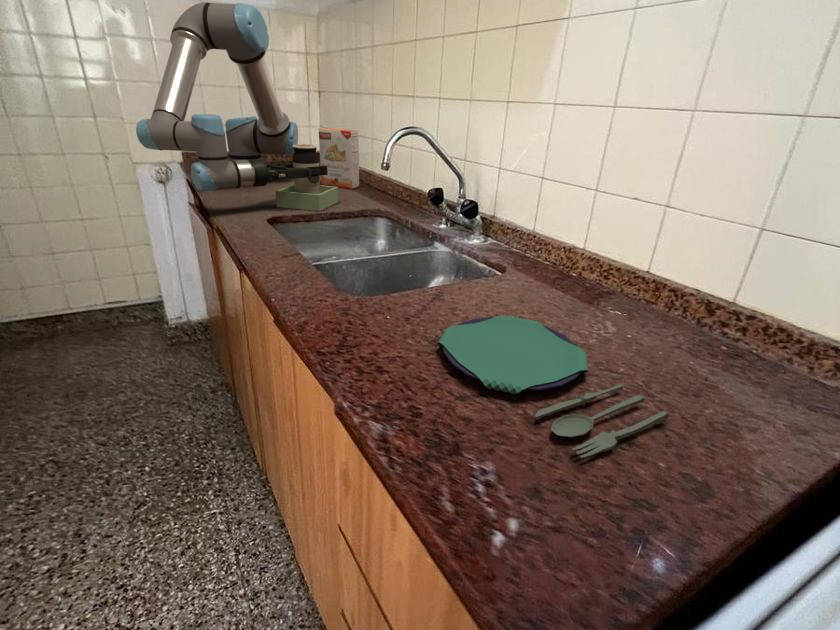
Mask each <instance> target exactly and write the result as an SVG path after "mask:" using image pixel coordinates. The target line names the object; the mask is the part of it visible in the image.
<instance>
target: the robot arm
mask: <svg viewBox="0 0 840 630" xmlns="http://www.w3.org/2000/svg"><path fill="white" fill-rule="evenodd" d="M268 31H269V30H268V26H267V24H266V20H265V18H264V16H263V14H262V13H261V11H260V10H259V9H258V8H257V7H256V6H254V5H252V4H244V3H242V2H237V3H226V2H225V3H221V2H209V1H208V2H207V1H206V2H205V1H204V2H198V3H195V4H193V5H191V6H189V7H188V8H187V9H186V10H185V11H183V13H182V14H181V15H180V16H179V18H177V20H176V21H175V23H174V25H173V26H172V29H171V33H170V36H169V41H170V44H171V49H170V52H169V56H168V59H167V62H166V66H165V69H164V73H163V76H162V79H161V83H160V86H159V89H158V90H159V91H158V93H157V96H156V100H155V103H154V107H153V111H152V113H151V116H150V118H146V119H145V118H143V119H141V120H139V121H138V122H137V124H136V126H135V133H136V136H137V139H138V141H139V143H140V144H141V145H142V146H143V148H145V149H148V150H155V151H173V152H175V151H178V152H194V153H196V155H197V160H198V161H197V162H193V163H192V164H191V166H190V174H191V175H190V176H191V180H192V183H193V185H194V187H195V188H196V189H197V190H199V191H201V192H206V191H207V192H208V191H212V192H213V191H214V192H217V191H223V190H232V189H240V190H242V191H244V190H245V188H252V187H254V188H256V187H257V188H258V187H265V186H266V185H268V182H269V179H271V180H273V181H275V180H280V181H282V180H294V179H296V178H308V179H310V178H311V176H320V177H321V175H328V172H327V166H320V165H319V166H314V167H307V168H293V160H289V162H287V161H285V160H284V159H280V160H278V161H276V162H273V163H267V164H266V163H265V162H264V160H262V154H264V155H265V154H266V155H281V156H287V155H290V156H291V155H292V156H293V154H294V148H293V147H292V146H293V145H299V127H298V125H297V122H294V121H290V118H289V116H288V115H287V114H286V113H285V112H283V111H282V108H281V104H280V102H279V98H278V95H277V92H276V90H275V88H274V83H273V81H272V78H271V75H270V72H269V69H268V65H267V63H266V59H265V56H266V54H267V50H268V48H269V45H270V36H269V32H268ZM211 50H223V51H226V53H227V55H228V58H229V59H230V61H231V62H232V63H234V64H236V65H237V67H238V70H239V72H240V75H241V77H242V80H243V82H244V85H245V87H246V90H247V92H248V95H249V98H250V101H251V103H252V105H253V107H254V110H255V112H256V115H257V116H256V115H255V116H245V117H234V118H228V119H226V120H225V121H224V123H223V118H222V117H221V116H220V115H218V114H211V113H194V114H191V116H190V117H191V118H190V119H191V120H186V115H187V112H188V109H189V105H190V101H191V97H192V93H193V90H194V86H195V82H196V78H197V74H198V72H199V67H200V64H201V61H202V60H203V59H205V58H206V56H207V53H208V52H209V51H211ZM224 126H225V128H224ZM227 148H228V149H227ZM228 155H229V156H228ZM284 161H285V162H284Z"/></svg>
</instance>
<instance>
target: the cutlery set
mask: <svg viewBox="0 0 840 630" xmlns="http://www.w3.org/2000/svg"><path fill="white" fill-rule="evenodd" d="M437 344H438V345H439V346H440V347H442V348H443V354H444V356H445V357H446V358H447V360H448V361H449V362H450V364H451V365H452V366H453V367H454V368H456V369H457V370H459V371H460V372H461V373H463V374H464V375H466V376H467V377H469V378H472V379H474V380H477V381H479V382H481V383H483V385H484V386H485V388H487V389H488V390H495V391H499V392H504V393H509V394H512V395H515V394H518V393H520V392H522V391H534V392H535V391H536V392H537V391H539V392H540V391H544V390H551V389H555V388H561V387H563V386H565V385H567V384H569V383H570V382H573V381H574V380H576V379H577V377H578V376H579V375H580V373H581V374H586V373H589V365H588V361H589V359H588V355H587V352H586V351H585V350H583V349H582V348H581V347H579V346H578V345H577V344H576V343H575V342H574V341H572V339H570V338H569V337H568V336H566V335H565V334H563V333H561V332H559V331H557V330H555V329H553V328H551V327H549V326H547V325H543V324H542V323H540V322H539V321H536V320H531V319H529V318H527V319H525V318H523V317H521V318H519V317H517V316H514V317H513V316H511V315H508V316H506V315H497V316H486V317H479V318H472V319H469V320H466V321H462V322H460V323H458V324H455V325H451V326H447V327H446V328H445V329H444V331H443V332H442V334H441V336H440V337H439V339H438V341H437ZM623 388H624V385H622V384H621V383H618V384H617V385H614V386H612V387H610V388H607V389H603V390H602V389H601V390H599V391H596V392H586V393H585V394H584V395H581V394H580V393H579V394H578V398H574V399H569V400H565V401H561V402H558V403H556V404H553V405H550V406H547V407H544V408H541V409H539V410H538V411H537V412H536V413H535V416H534V419H535V420H538V419H541V418H544V417H547V416H550V415H553V414H555V413H557V412H558V413H559V412H560V411H564V410H566V409H569V408H571V407H574V406H578V405H580V404H581V405H582V406H583V407H585V405H586V403H587V402H591V403H592V402H593V401H594V400H595V399H596V398H598V397H599V396H604V395H606V394H608V393H610V392H614V391H617V390H620V391H623ZM645 400H646V397H644V396H642V395H641V394H638V395H634V396H632V397H630V398H628V399H626V400H623V401H621V402H619V403H616V404H614V405H612V406H610V407H608V408H607V409H605V410H603V411H600V412H598V413H596V414H595V415H593V416H588V415H585V414H577V413H572V414H567V415H562V416H560V417H559V418H557V419H556V420H554V421H553V422H552V424H551V427H550V431H552V432H553V433H554V434H555V435H556V436H559V437H565V438H566V437H567V438H577V437H582V436H585V435H587V434H588V433H589V432H590V431H591V430H592V429H593V428H594V422H595V421H597V420H599V419H602V418H604V417H606V416H609V415H611V414H613V413H616V412H619V411H621V410H624V409H627V408H629V407H632V406H635V405H639V404H641V403H644V402H645ZM669 416H670V413H669V412H667V411H666V410H662V411H660V412H658V413H656V414H654V415H651V416H649V417H648V418H646V419H644V420H641V421H640V422H638V423H635V424H633V425H631V426H628V427H626V428H625V427H624V428H622V429H620V430H617V431H616V430H614V429H612V430H611V431H610V432H607V431H604V430H601V432H600V433H598V434H597V435H595V436H593V437H592V438H590V439H588V440H586V441H585V442H583V443H581V444H579V445H577V446H575V447H573V448H571V451H572V452H575V455H577V456H579V458H580V459H582V460H583V459H586V458H590V457H592V456H595V455H597V454H599V453H603V452H607V451H611V450H613V449H615V448H616V447H617V443H618V442H619V439H621V438H624V437H627V436H631V435H634V434H637V433H639V432H641V431H643V430H645V429H648V428H650V427H652V426H653V425H655V424H658V423H660V422H663V421H666V420H668V419H669ZM576 451H577V452H576Z"/></svg>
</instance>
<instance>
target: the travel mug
mask: <svg viewBox="0 0 840 630" xmlns="http://www.w3.org/2000/svg"><path fill="white" fill-rule="evenodd" d="M292 147H293V148H294V154H292V161H293V168H307V167H314V166H320V156H319V155H318V153H317V149H318V145H316V144H305V143H304V144H299V143H298V145H293V146H292ZM293 180H294V184H295V192H297V193H308V194H320V193H321V190H320V185H321V176H311V178H310V179H308V178H296V179H293Z"/></svg>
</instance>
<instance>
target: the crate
mask: <svg viewBox="0 0 840 630" xmlns="http://www.w3.org/2000/svg"><path fill="white" fill-rule="evenodd" d="M320 190H321V193H320V194H308V193H297V192H295V183H294V184H292V185H288V186H285V187H283V188H280V189H277V190H274V191H275V201H276V208H283V209H291V210H292V209H293V210H301V211H302V210H303V211H311V212H321V211H323V210H325V209H327V208H329V207H331V206H333V205H335V204H337V203H339V202H340V201H339V187H333V186H326V185H322V184H320Z"/></svg>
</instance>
